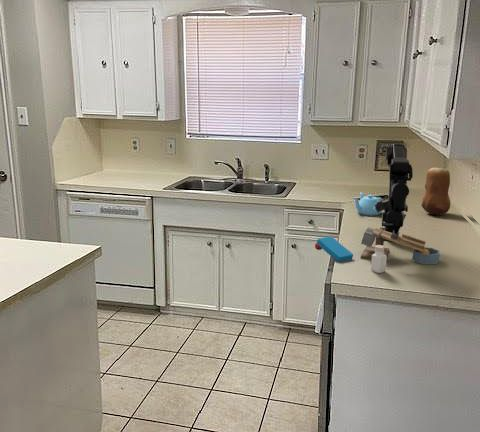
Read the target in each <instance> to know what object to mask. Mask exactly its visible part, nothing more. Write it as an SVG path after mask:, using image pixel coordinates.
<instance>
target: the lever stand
mask: <svg viewBox="0 0 480 432" xmlns="http://www.w3.org/2000/svg"><path fill="white" fill-rule="evenodd" d="M379 229H383V230H384V229H385V227H384V226H381V227H379ZM384 241H385V240H384V239H383V238H381V235H378V234H376V237H375V246H376V245H382V246H384V244H385V243H384ZM365 246H366V245H365ZM375 246H373V245H372V246H371V247H369V246H366V247H365V248H364V250H363V251H362V253H361V254H360V259H364V260H371V261H372V255H373V254H375ZM389 252H390V248H388V247H384V255H386V256H388V254H389Z"/></svg>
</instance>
